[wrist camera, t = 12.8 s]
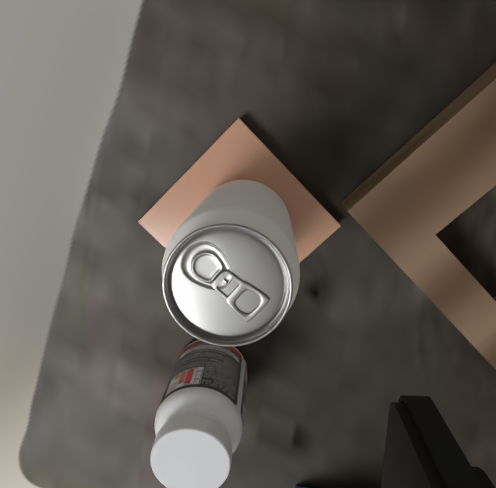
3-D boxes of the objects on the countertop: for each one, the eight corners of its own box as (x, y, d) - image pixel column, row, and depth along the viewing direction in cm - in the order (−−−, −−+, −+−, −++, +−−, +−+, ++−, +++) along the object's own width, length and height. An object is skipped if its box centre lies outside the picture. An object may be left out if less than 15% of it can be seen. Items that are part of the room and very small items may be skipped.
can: (239, 158, 28) (217, 180, 17) (309, 221, 29) (335, 283, 18) (178, 228, 30) (121, 293, 18) (248, 286, 31) (235, 382, 19)
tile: (338, 222, 30) (340, 225, 29) (239, 311, 33) (238, 317, 32) (239, 118, 29) (238, 117, 28) (142, 219, 31) (138, 221, 30)
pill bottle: (163, 353, 34) (121, 443, 24) (225, 323, 33) (206, 404, 23) (200, 409, 35) (173, 515, 26) (260, 381, 34) (257, 481, 25)
